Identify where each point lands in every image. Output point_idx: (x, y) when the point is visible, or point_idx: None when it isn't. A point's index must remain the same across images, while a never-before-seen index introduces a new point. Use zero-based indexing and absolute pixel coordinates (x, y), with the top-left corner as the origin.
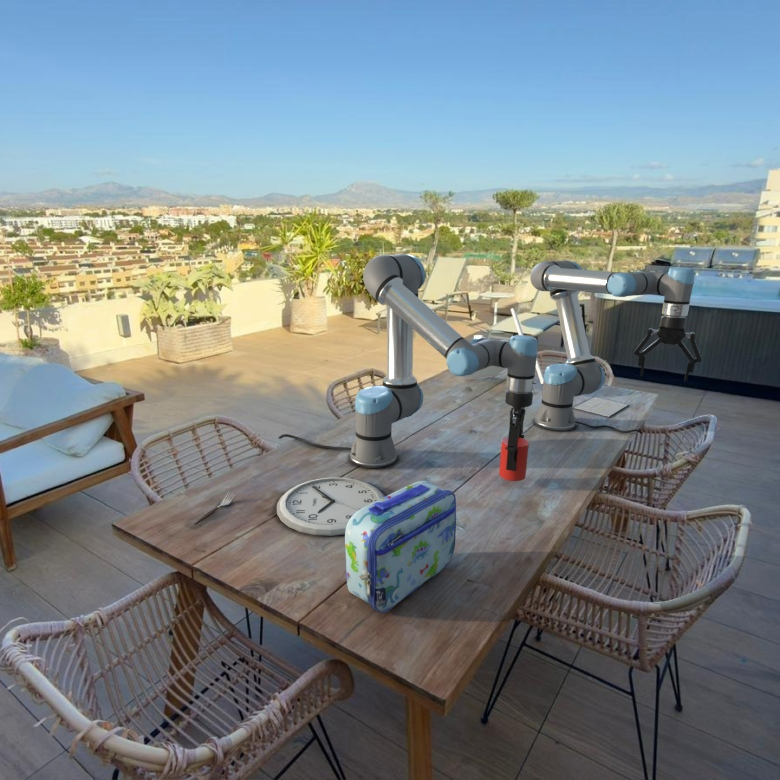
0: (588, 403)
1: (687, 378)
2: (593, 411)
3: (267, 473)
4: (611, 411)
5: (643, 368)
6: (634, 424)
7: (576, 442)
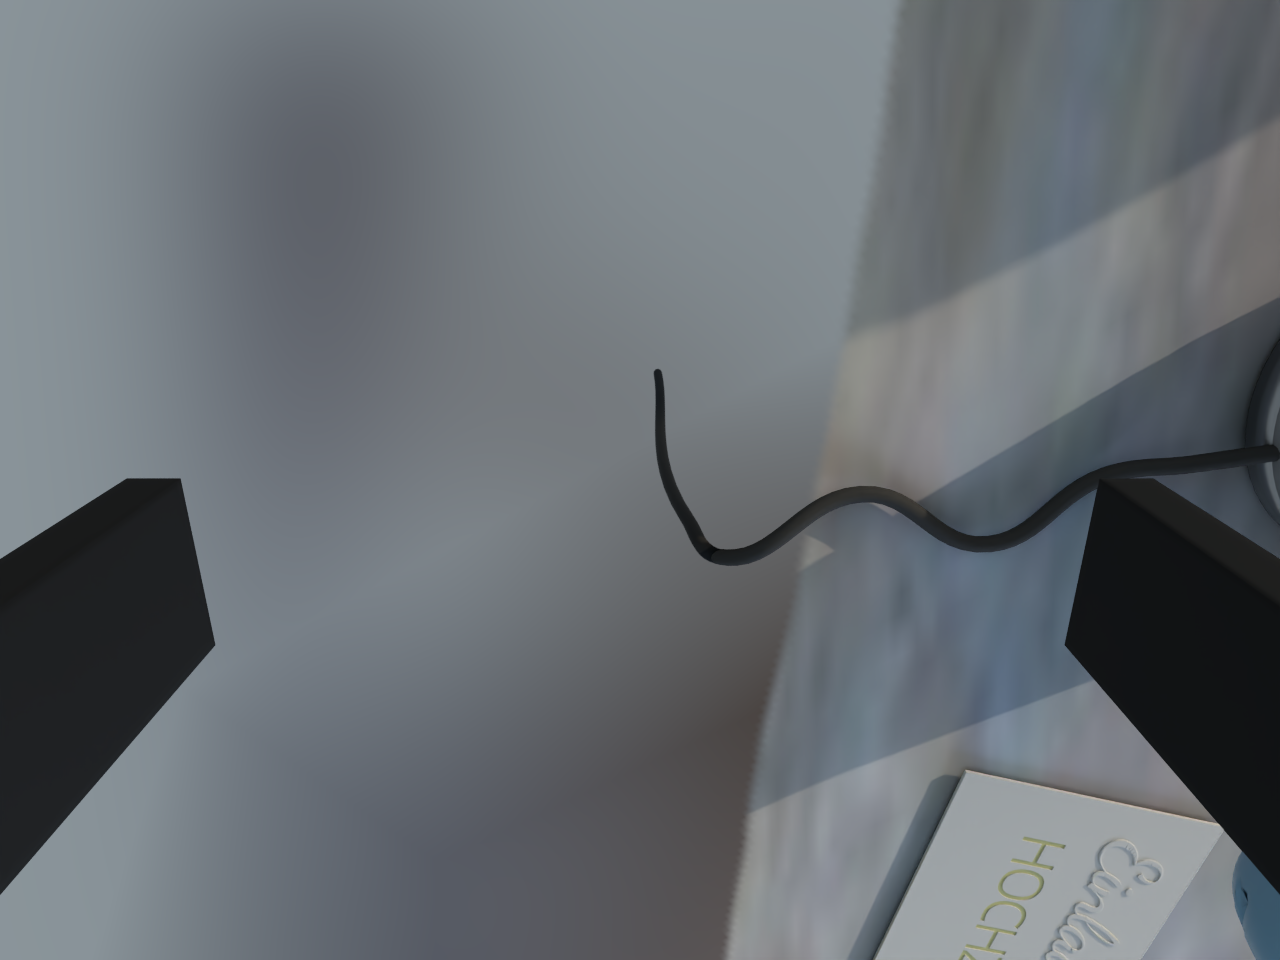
0: (1109, 951)
1: (69, 515)
2: (1079, 815)
3: None
4: (947, 874)
5: (1178, 669)
6: (778, 714)
7: (1254, 37)
